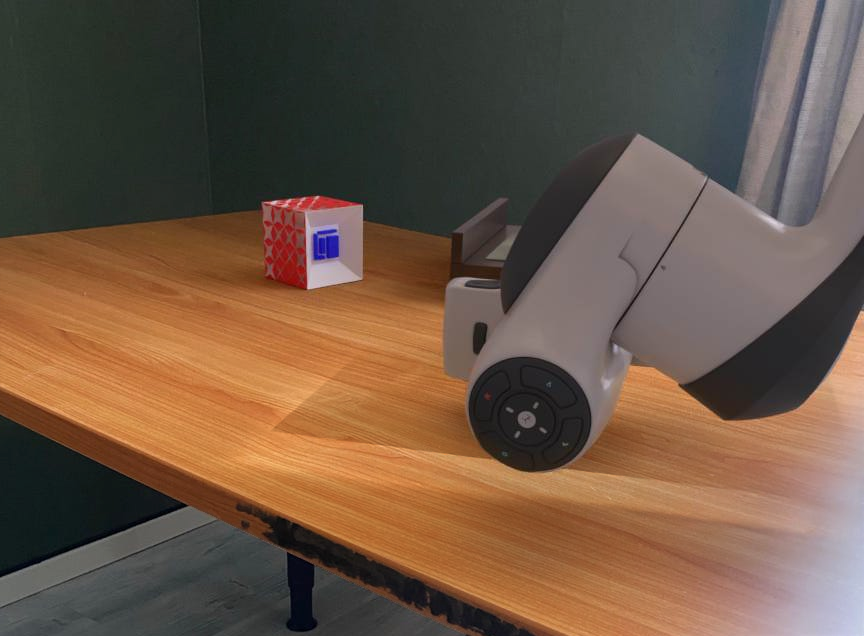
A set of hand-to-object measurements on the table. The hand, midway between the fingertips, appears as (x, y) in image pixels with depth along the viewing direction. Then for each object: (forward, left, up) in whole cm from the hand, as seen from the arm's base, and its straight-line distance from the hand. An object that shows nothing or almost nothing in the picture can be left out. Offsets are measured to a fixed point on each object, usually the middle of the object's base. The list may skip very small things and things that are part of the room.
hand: (592, 296), depth 78 cm
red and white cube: (+22, -38, -7) cm, 45 cm away
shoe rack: (-1, -36, -7) cm, 37 cm away
